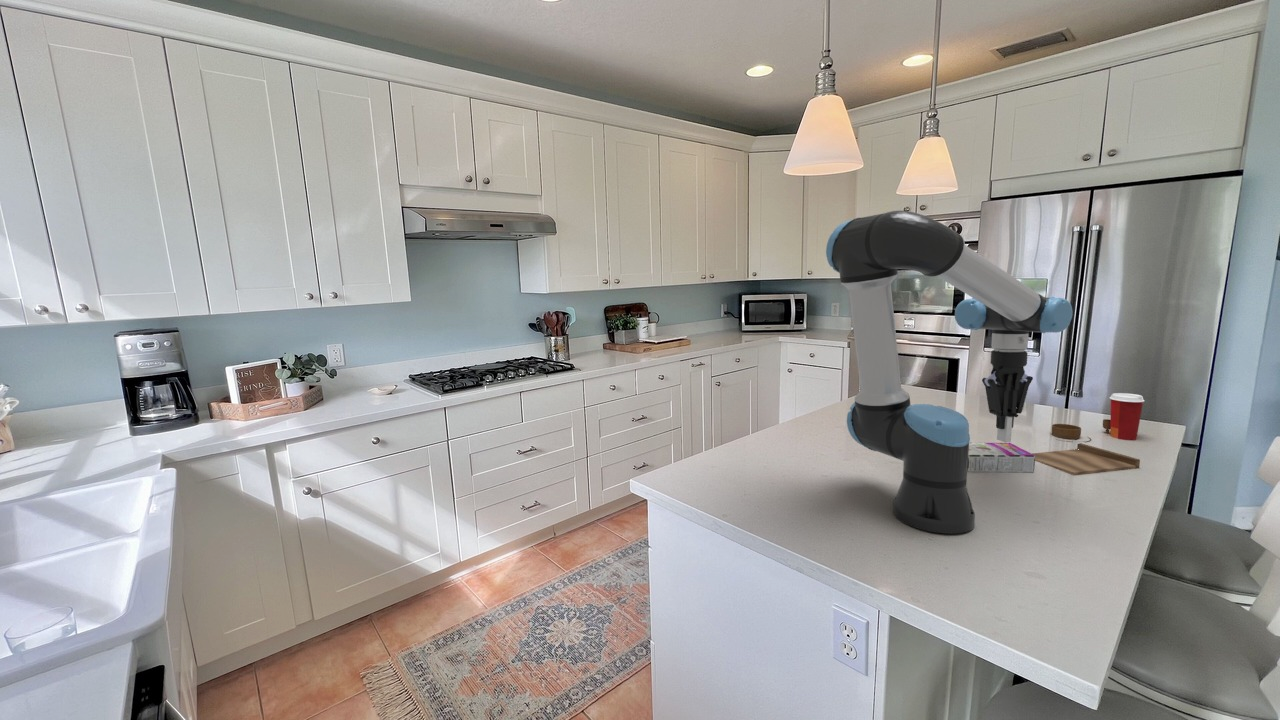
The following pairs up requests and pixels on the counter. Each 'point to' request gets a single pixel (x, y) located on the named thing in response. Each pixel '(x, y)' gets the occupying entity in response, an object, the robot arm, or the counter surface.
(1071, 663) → the counter surface
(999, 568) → the counter surface
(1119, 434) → the paper cup
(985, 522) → the counter surface
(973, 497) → the counter surface
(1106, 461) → the board
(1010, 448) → the candy bar box
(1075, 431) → the place setting
